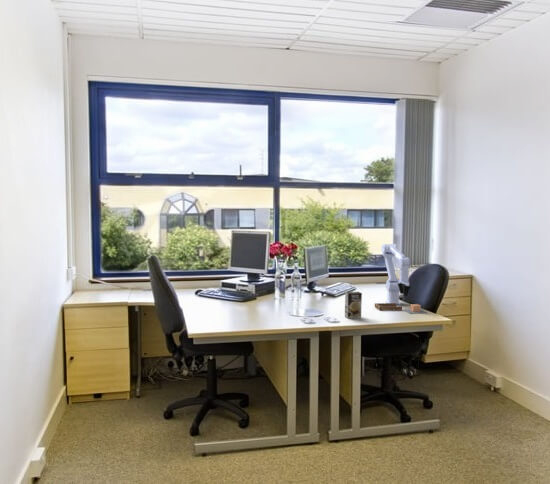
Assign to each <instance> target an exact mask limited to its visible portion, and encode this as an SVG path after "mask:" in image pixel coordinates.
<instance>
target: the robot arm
mask: <svg viewBox="0 0 550 484" xmlns="http://www.w3.org/2000/svg"><path fill="white" fill-rule="evenodd" d="M380 250H381V254H382V256H383V258H384V262H385V267H386V272H387V276H388V278H387V280H386V282H385V288H386V290H387V291H388V292H387V297H386V301H385V303H397V305H401V303H400V301H399V299H400V294H402V295H403V296H405V297H407V296H408V295H409V291H410V288H411V287H412V286H411V285H410V282H409V273H410V271H409V270H410V266H411V259H410V257H406V255H404V254H403V252H402V251H399V250H398V246H397V244H396V243H383V244H382V246H381V249H380ZM394 256H395V259H396V260H397V261H398V266H399V269H400V270H399V279H398V277H397V276H396V272H395V268H394V262H393V257H394Z"/></svg>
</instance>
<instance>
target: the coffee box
mask: <svg viewBox="0 0 550 484" xmlns="http://www.w3.org/2000/svg"><path fill="white" fill-rule="evenodd" d="M344 293H345V296H344V297H345V298H344V317H345V318H346V319H348V320H349V319H362V305H363V304H362V301H363V300H362V299H363V297H362V295H363V293H362V292H360V291H344Z"/></svg>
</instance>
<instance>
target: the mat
mask: <svg viewBox="0 0 550 484" xmlns="http://www.w3.org/2000/svg"><path fill="white" fill-rule="evenodd" d="M402 311H405V312H407V313H408V314H410V315H411V314H428V312H427V311H425V310H423V309H421V310H420V312H413V311H411V310H410V308H402Z"/></svg>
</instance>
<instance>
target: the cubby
mask: <svg viewBox="0 0 550 484" xmlns="http://www.w3.org/2000/svg"><path fill="white" fill-rule="evenodd" d="M374 308H376V309H377V310H379V311H380V312H382V311H381V310H390V311H403V306H398V304H397V303H387V302H383V303H382V302H380V303H375V302H374Z"/></svg>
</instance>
